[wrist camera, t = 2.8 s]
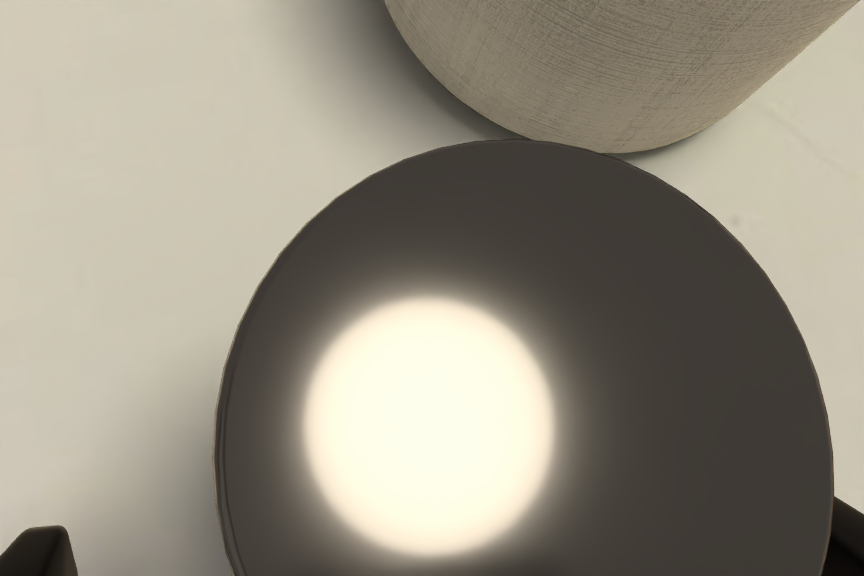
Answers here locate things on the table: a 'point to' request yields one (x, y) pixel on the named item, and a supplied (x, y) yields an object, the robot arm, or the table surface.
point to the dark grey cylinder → (519, 384)
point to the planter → (609, 61)
